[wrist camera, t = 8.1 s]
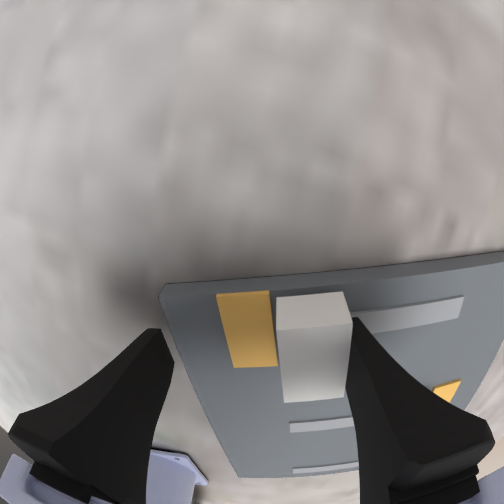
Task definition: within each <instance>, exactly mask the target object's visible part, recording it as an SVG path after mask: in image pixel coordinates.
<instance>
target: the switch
mask: <svg viewBox="0 0 504 504" xmlns="http://www.w3.org/2000/svg"><path fill="white" fill-rule="evenodd" d="M352 327H353V322H352V319H351V315H350V312H349V309H348V306H347V303H346V300H345V297H344V294H343V291H341V292H331V293H321V294H311V295H299V296H287V297H276V333H277V342H278V351H279V360H280V370H281V379H282V389H283V398H284V403H290V402H304V401H315V400H325V399H334V398H342V397H344V392H345V385H346V378H347V371H348V363H349V355H350V347H351V337H352Z"/></svg>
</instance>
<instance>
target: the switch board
mask: <svg viewBox="0 0 504 504" xmlns="http://www.w3.org/2000/svg"><path fill="white" fill-rule="evenodd" d="M341 291H343V294H344V297H345V300H346V303H347V306H348V309H349V312H350V315H351V318H353V317H358V318H359V319H360V320H361V321H362V322H363V324H364V325H365V326H366V327H367V329H368V330H369V331H370V332H371V334H372V335H373V336H374V337H375V338H376V340H377V341H378V342H379V343H380V344H381V345H382V346H383V348H384V349H385V350H386V351H387V352H388V353H389V354H390V355H391V356H392V357H393V358H394V359H395V360H396V361H397V362H398V363H399V364H400V365H401V366H402V367H403V368H404V369H405V370H406V371H407V372H408V373H409V374H410V375H411V376H413V377H414V378H415V379H416V380H417V381H419V382H420V383H421V384H422V385H424V386H425V387H426V388H428V389H429V390H431V391H432V392H434V393H435V394H437V395H438V396H440V397H441V398H443V399H444V400H446V401H447V402H449V403H451V404H453V405H454V406H456V407H458V408H460V409H462V410H465V408H466V407H467V405H468V404H469V402H470V401H471V399H472V397H473V396H474V394H475V392H476V391H477V389H478V387H479V386H480V384H481V382H482V380H483V379H484V377H485V375H486V373H487V371H488V369H489V368H490V366H491V364H492V362H493V360H494V358H495V356H496V354H497V352H498V350H499V348H500V345H501V343H502V341H503V339H504V251H500V252H493V253H486V254H478V255H471V256H463V257H455V258H447V259H439V260H431V261H423V262H414V263H406V264H397V265H388V266H378V267H369V268H359V269H349V270H339V271H329V272H318V273H307V274H296V275H284V276H272V277H259V278H246V279H233V280H219V281H204V282H189V283H173V284H165V286H164V288H163V289H162V291H161V293H160V294H159V296H158V298H159V301H160V304H161V307H162V309H163V312H164V315H165V318H166V320H167V323H168V326H169V329H170V331H171V334H172V337H173V339H174V342H175V344H176V347H177V349H178V352H179V354H180V357H181V359H182V362H183V364H184V367H185V369H186V371H187V374H188V376H189V378H190V381H191V383H192V385H193V388H194V390H195V392H196V394H197V397H198V399H199V401H200V403H201V405H202V407H203V410H204V412H205V414H206V416H207V418H208V420H209V422H210V424H211V426H212V428H213V430H214V432H215V434H216V436H217V438H218V440H219V442H220V444H221V446H222V448H223V450H224V452H225V454H226V456H227V457H228V459H229V461H230V463H231V465H232V467H233V468H234V470H235V472H236V474H237V476H238V477H244V478H283V477H302V476H315V475H325V474H334V473H341V472H348V471H355V470H359V461H358V449H357V440H356V431H355V426H354V421H353V417H352V413H351V409H350V405H349V401H348V397H347V393H346V389H345V392H344V397H342V398H334V399H325V400H315V401H304V402H290V403H284V398H283V389H282V379H281V370H280V360H279V351H278V342H277V333H276V297H287V296H299V295H311V294H321V293H331V292H341Z"/></svg>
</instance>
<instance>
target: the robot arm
mask: <svg viewBox="0 0 504 504" xmlns="http://www.w3.org/2000/svg"><path fill="white" fill-rule="evenodd" d="M351 319H352V322H353V327H352V337H351V347H350V355H349V363H348V371H347V378H346V385H345V389H346V393H347V397H348V401H349V405H350V409H351V413H352V417H353V421H354V426H355V431H356V440H357V449H358V461H359V477H360V504H504V467H502V468H500V469H498V470H496V471H494V472H493V473H491V474H489V475H487V476H485V477H483V478H481V479H480V480H478V481H477V478H476V475H477V474H478V473H479V469H478V466H477V464H478V463H479V462H480V461H481V460H482V459H483V458H484V457H485V456H486V455H487V454H488V453H489V452H490V451H491V450H492V448H493V447H494V444H495V440H494V438H493V435H492V432H491V429H490V427H489V425H488V424H487V422H486V420H484V419H482V418H480V417H477V416H475V415H473V414H470V413H468V412H466V411H464V410H462V409H460V408H458V407H456V406H454V405H453V404H451V403H449V402H447V401H446V400H444V399H443V398H441V397H440V396H438V395H437V394H435V393H434V392H432V391H431V390H429V389H428V388H426V387H425V386H424V385H422V384H421V383H420V382H419V381H417V380H416V379H415V378H414V377H413V376H411V375H410V374H409V373H408V372H407V371H406V370H405V369H404V368H403V367H402V366H401V365H400V364H399V363H398V362H397V361H396V360H395V359H394V358H393V357H392V356H391V355H390V354H389V353H388V352H387V351H386V350H385V349H384V348H383V346H382V345H381V344H380V343H379V342H378V341H377V340H376V338H375V337H374V336H373V335H372V334H371V332H370V331H369V330H368V329H367V327H366V326H365V325H364V324H363V322H362V321H361V320H360V319H359V318H358V317H353V318H351ZM174 363H175V362H174V360H173V358H172V355H171V353H170V351H169V348H168V346H167V343H166V341H165V338H164V336H163V333H162V331H161V329H156V328H148V329H147V330H145V331H144V332H143V333H142V334H141V335H140V336H139V337H137V338H136V339H135V340H134V341H133V342H132V343H131V344H130V345H129V346H128V347H127V348H126V349H125V350H123V351H122V352H121V353H120V354H119V355H118V356H117V357H116V358H115V359H114V360H112V361H111V362H110V363H109V364H108V365H107V366H105V367H104V368H103V369H102V370H101V371H99V372H98V373H97V374H96V375H94V376H93V377H92V378H90V379H89V380H88V381H86V382H85V383H83V384H82V385H81V386H79V387H77V388H76V389H74V390H72V391H71V392H69V393H67V394H66V395H64V396H62V397H60V398H58V399H56V400H54V401H52V402H50V403H48V404H46V405H43V406H41V407H38V408H36V409H33V410H30V411H27V412H24V413H21V414H19V415H18V417H17V419H16V420H15V422H14V424H13V426H12V427H11V429H10V431H9V433H8V435H9V437H10V439H11V440H12V441H13V442H14V443H15V444H16V445H17V446H18V447H19V448H21V450H22V451H24V452H25V453H26V454H27V455H28V456H29V457H31V458H32V459H33V460H34V461H35V462H34V464H33V465H31V464H30V463H28V462H27V461H25V460H24V459H22V458H20V457H18V456H17V455H15V454H12V456H11V458H10V460H9V462H8V464H7V466H6V468H5V471H4V472H3V475H2V477H1V479H0V496H1V497H2V498H3V499H5V500H6V501H7V502H8V503H10V504H191V501H192V496H193V491H194V486H195V484H198V485H208V483H209V482H208V481H207V479H206V478H205V477H204V476H203V475H202V473H201V472H200V471H199V470H198V468H197V467H196V466H195V465H194V463H193V462H192V461H191V460H190V458H189V457H188V456H187V455H184V454H178V453H171V452H165V451H158V450H153V449H151V446H152V441H153V436H154V431H155V428H156V424H157V421H158V418H159V415H160V413H161V410H162V407H163V404H164V401H165V398H166V395H167V392H168V389H169V386H170V383H171V379H172V374H173V368H174Z"/></svg>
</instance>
